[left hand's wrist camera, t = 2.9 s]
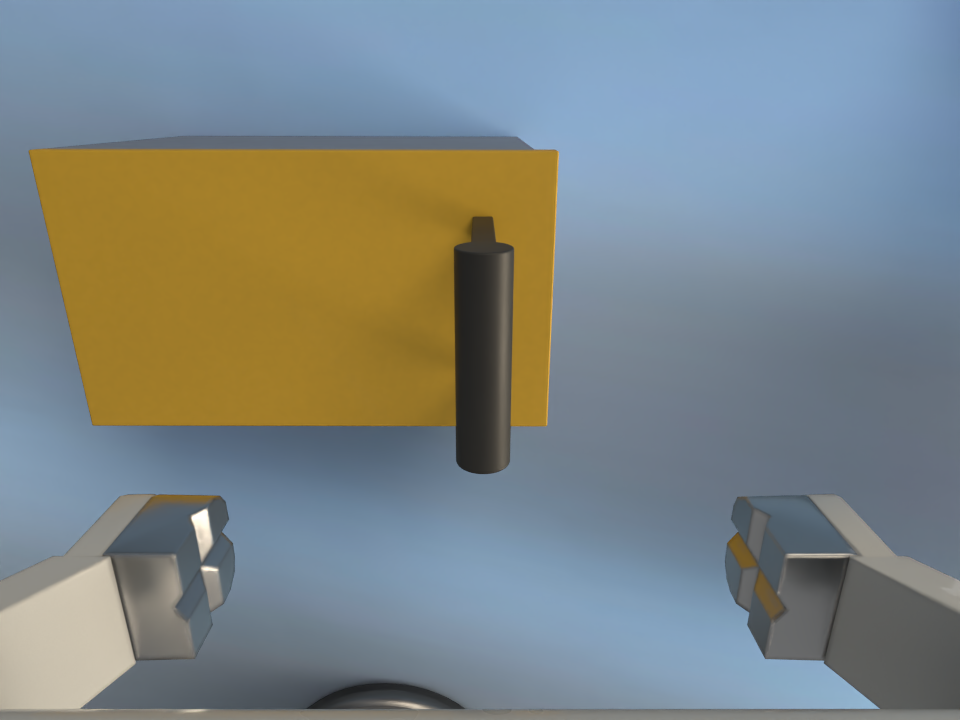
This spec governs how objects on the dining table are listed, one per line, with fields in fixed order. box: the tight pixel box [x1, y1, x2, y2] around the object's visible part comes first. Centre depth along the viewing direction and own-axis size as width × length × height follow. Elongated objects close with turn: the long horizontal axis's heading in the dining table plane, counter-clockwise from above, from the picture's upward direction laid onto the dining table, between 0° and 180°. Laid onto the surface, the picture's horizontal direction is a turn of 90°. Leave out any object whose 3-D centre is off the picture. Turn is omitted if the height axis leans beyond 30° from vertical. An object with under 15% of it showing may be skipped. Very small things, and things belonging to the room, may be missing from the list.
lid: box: [29, 149, 559, 474], centre depth 20 cm, size 17×10×8 cm, turn 90°
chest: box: [48, 136, 534, 150], centre depth 29 cm, size 17×10×11 cm, turn 90°
